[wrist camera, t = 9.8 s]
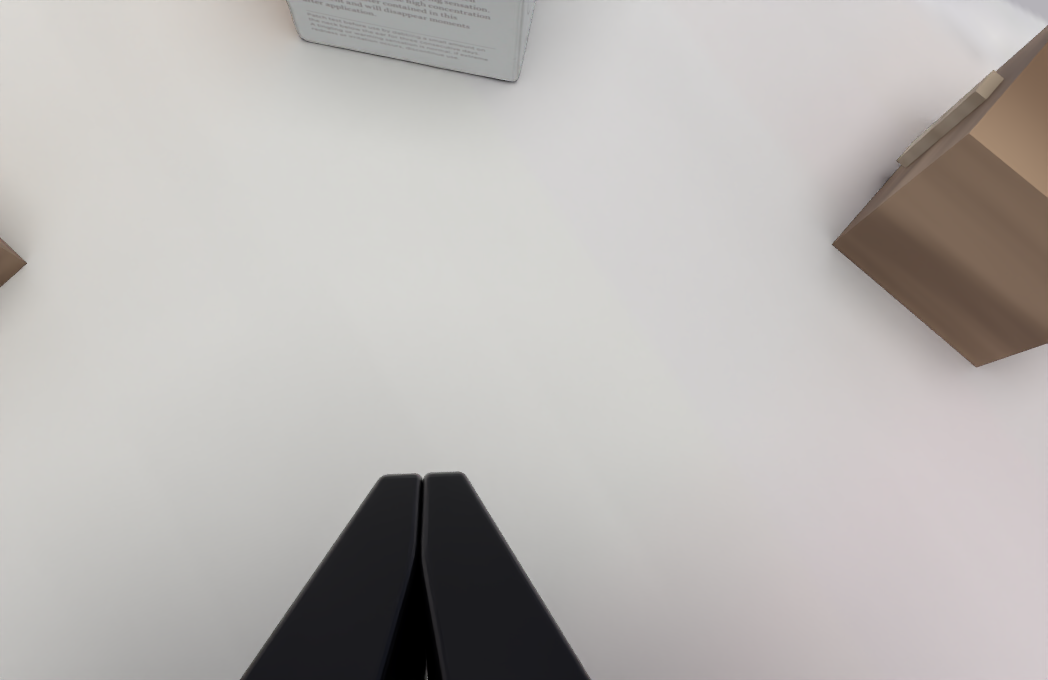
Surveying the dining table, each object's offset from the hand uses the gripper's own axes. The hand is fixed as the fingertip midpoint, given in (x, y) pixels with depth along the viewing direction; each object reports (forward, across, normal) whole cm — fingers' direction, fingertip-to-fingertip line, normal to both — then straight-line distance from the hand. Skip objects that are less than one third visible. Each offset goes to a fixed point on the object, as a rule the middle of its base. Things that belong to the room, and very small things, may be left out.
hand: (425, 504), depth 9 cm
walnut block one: (+15, -14, +5) cm, 21 cm away
